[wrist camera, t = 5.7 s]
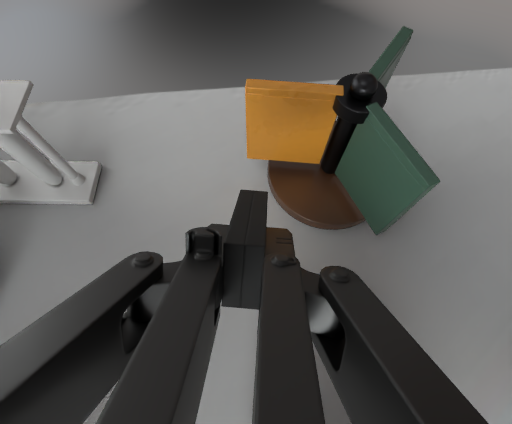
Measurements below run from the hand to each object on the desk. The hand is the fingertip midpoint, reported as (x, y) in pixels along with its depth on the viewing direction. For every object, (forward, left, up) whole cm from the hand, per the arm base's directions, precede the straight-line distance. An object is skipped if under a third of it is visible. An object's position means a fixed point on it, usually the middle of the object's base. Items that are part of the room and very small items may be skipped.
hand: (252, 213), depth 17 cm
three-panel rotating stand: (+7, -8, -10) cm, 14 cm away
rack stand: (+8, -9, -11) cm, 16 cm away
